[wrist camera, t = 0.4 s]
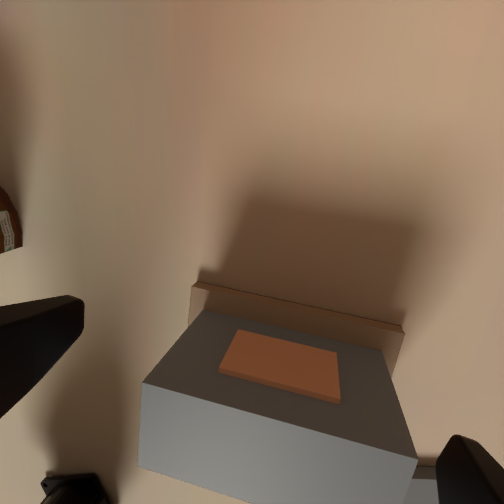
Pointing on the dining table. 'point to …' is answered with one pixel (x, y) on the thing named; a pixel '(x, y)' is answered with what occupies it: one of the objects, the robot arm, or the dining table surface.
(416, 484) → the mat
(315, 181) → the dining table surface
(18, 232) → the food container
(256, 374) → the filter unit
